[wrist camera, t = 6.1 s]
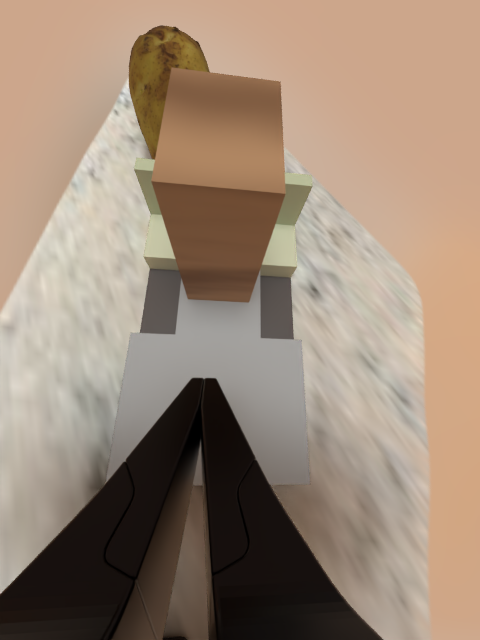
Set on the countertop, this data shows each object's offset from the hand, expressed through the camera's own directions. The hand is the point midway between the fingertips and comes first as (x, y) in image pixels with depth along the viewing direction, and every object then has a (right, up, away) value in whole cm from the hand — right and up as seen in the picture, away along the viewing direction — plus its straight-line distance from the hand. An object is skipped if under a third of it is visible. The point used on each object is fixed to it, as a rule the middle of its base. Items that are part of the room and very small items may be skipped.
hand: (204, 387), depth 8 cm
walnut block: (0, +7, +10) cm, 12 cm away
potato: (-4, +18, +16) cm, 24 cm away
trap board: (0, +1, +11) cm, 11 cm away
